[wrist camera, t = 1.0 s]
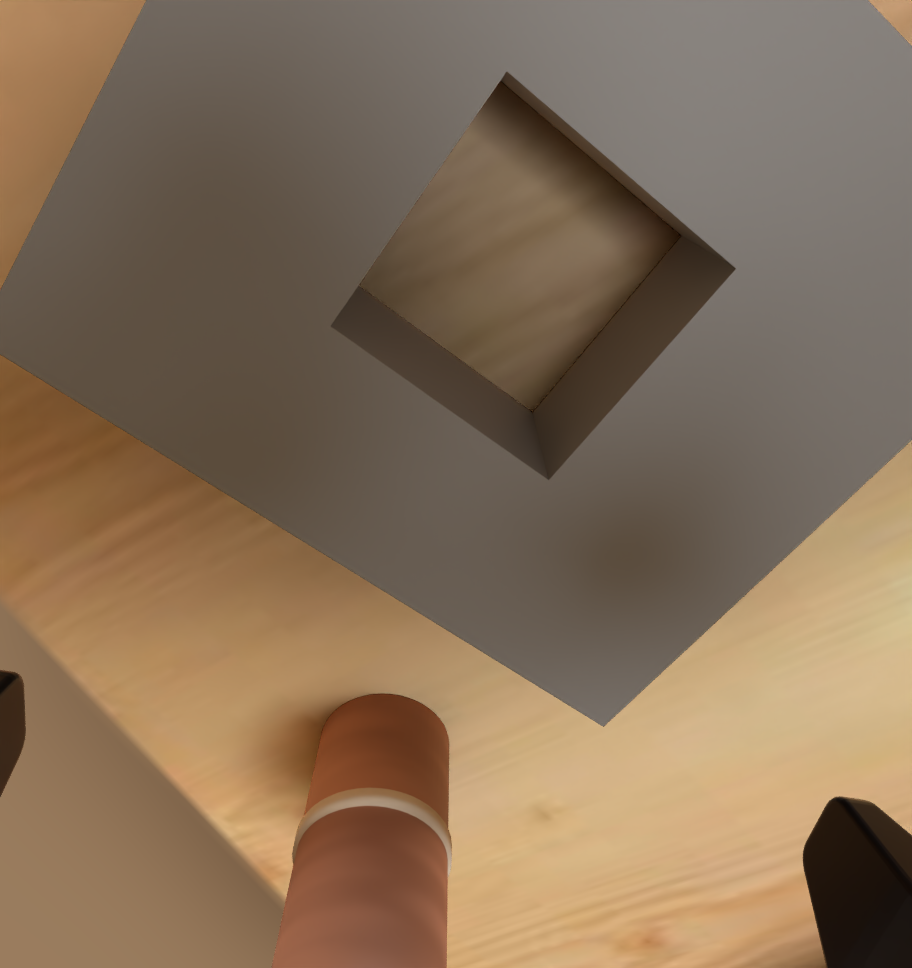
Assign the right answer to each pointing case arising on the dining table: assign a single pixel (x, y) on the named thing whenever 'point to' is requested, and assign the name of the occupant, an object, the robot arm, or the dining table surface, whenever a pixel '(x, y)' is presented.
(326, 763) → the peg
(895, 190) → the hole block
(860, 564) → the dining table surface
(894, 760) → the dining table surface
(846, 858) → the robot arm
